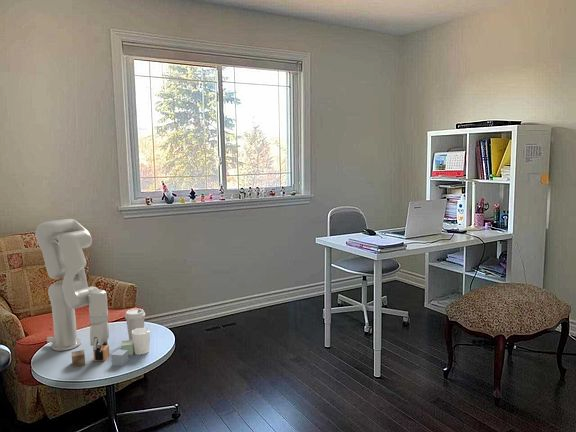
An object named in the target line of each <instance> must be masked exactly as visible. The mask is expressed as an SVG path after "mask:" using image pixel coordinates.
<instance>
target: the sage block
mask: <svg viewBox="0 0 576 432" xmlns="http://www.w3.org/2000/svg"><path fill="white" fill-rule="evenodd" d="M120 350H128V356H131V355H132V356H133V355H134V354H135V353H134V348H133V341H132V340H122V341H121V344H120Z"/></svg>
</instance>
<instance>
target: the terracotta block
mask: <svg viewBox="0 0 576 432" xmlns="http://www.w3.org/2000/svg"><path fill="white" fill-rule="evenodd" d="M97 347H98V348H99V349H100V346H97ZM92 351H93V353H92V354H93V361H94V362H103V361H104V362H105V361H107V360H108V358H109V357H111V356H110V355H111V354H110V345H102V351H103V360H95V352H94V350H93V349H92Z"/></svg>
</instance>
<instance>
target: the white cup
mask: <svg viewBox="0 0 576 432" xmlns="http://www.w3.org/2000/svg"><path fill="white" fill-rule="evenodd" d="M150 333H151V331H150V328H148V327H144V328H138V329H135V330H133V331H132V341H133V348H134V353H133V354H135V355H138V356H139V355H141V354H142V355H146V354H147V353H149V352H150V345H151V343H150V340H151V339H150V337H151V336H150V335H151V334H150ZM142 355H141V356H142Z"/></svg>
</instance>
